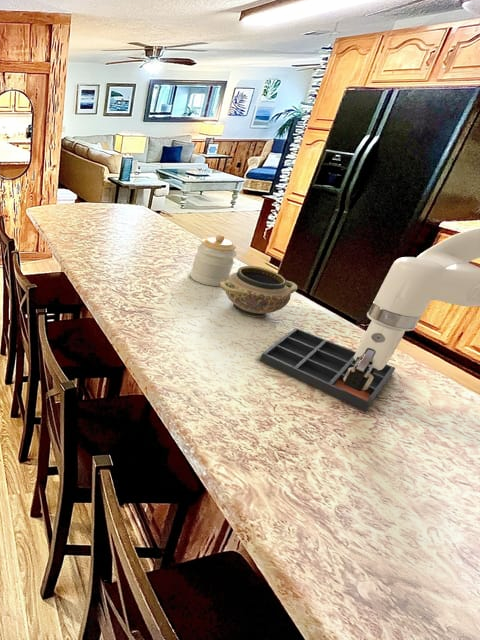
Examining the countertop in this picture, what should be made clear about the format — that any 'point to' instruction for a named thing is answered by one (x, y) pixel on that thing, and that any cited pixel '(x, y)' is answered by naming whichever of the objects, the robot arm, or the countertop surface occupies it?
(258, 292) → the ceramic bowl
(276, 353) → the grid
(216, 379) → the countertop surface
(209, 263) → the jar
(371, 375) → the cylinder
